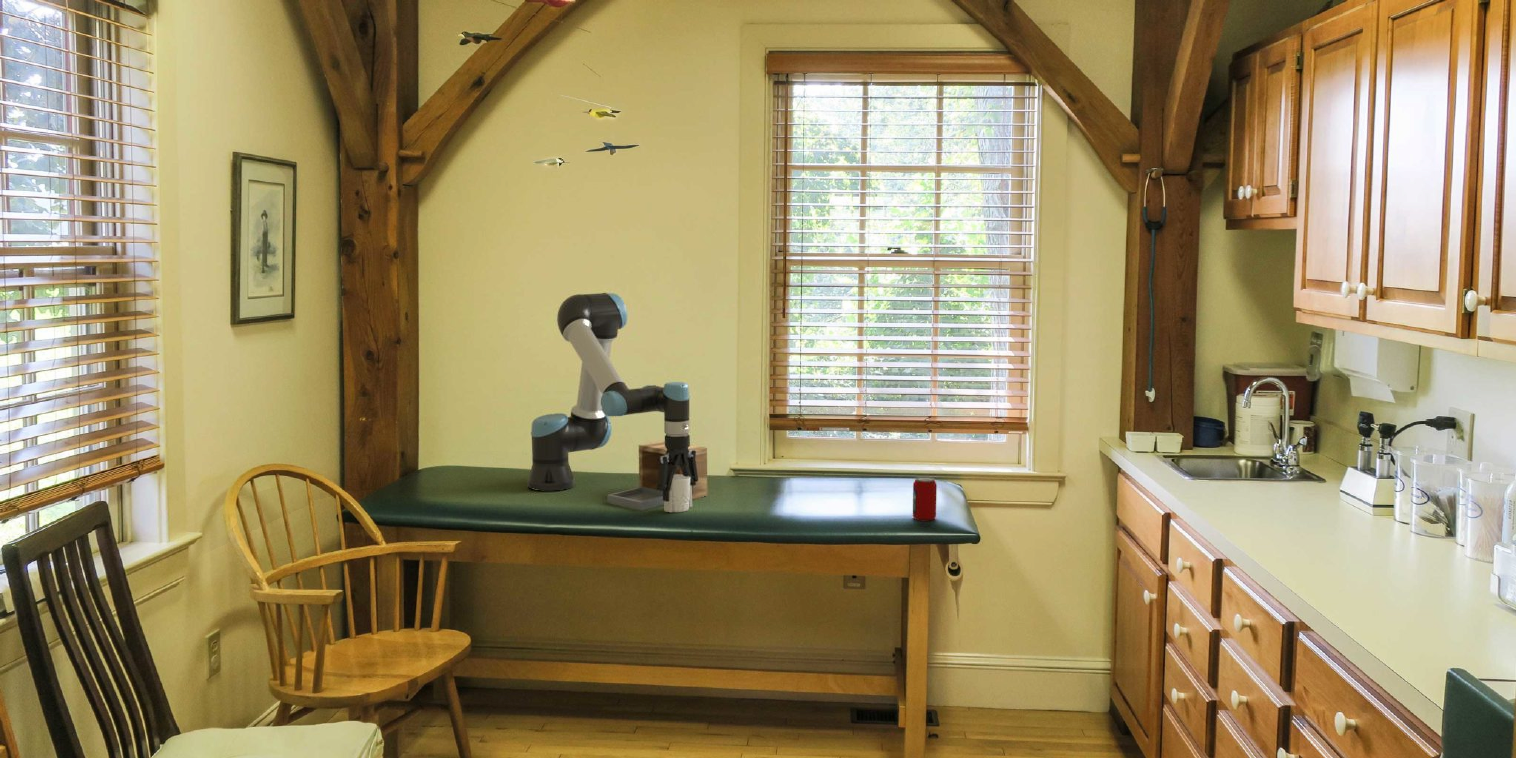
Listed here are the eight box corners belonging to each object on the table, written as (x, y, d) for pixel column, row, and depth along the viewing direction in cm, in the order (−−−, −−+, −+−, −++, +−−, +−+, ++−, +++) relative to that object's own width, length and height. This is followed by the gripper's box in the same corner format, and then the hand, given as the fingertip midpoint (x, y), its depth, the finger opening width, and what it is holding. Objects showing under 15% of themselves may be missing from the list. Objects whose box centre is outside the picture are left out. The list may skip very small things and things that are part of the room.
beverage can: (919, 514, 342) (919, 475, 340) (939, 518, 338) (940, 477, 336) (908, 519, 336) (909, 479, 335) (929, 523, 332) (930, 482, 331)
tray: (607, 502, 356) (607, 494, 356) (642, 494, 368) (642, 486, 367) (641, 510, 347) (640, 502, 346) (676, 501, 358) (676, 493, 358)
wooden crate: (639, 492, 370) (638, 444, 368) (662, 486, 378) (662, 440, 376) (684, 502, 357) (683, 452, 355) (707, 496, 365) (707, 447, 363)
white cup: (686, 513, 343) (686, 480, 342) (661, 512, 345) (661, 479, 344) (693, 507, 351) (693, 474, 350) (668, 505, 353) (668, 473, 351)
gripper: (661, 440, 335) (662, 517, 338) (709, 430, 350) (710, 504, 353) (643, 437, 340) (644, 513, 342) (692, 428, 355) (693, 500, 358)
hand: (678, 508), depth 348 cm, fingers open, 8 cm apart
